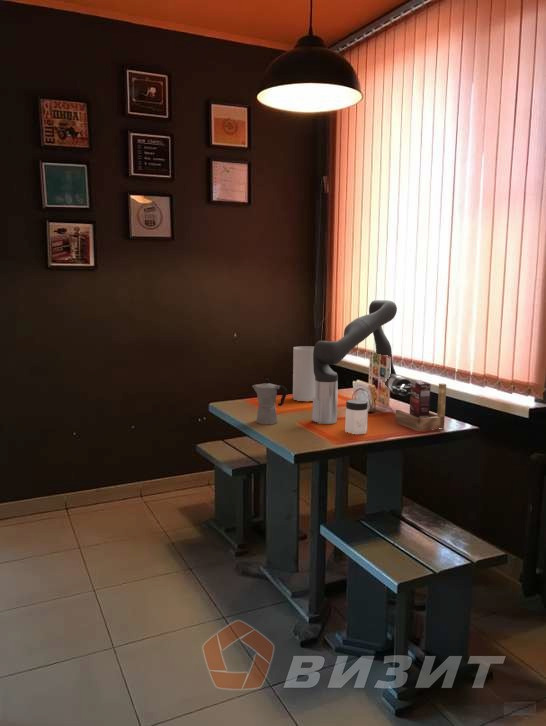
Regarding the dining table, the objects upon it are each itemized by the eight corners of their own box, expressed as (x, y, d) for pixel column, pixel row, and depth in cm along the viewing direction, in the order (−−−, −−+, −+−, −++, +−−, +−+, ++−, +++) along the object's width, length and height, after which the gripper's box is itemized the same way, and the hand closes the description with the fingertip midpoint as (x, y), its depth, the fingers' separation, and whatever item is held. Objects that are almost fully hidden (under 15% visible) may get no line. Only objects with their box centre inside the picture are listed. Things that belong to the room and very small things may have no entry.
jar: (348, 435, 228) (349, 404, 226) (341, 429, 236) (342, 399, 234) (371, 433, 230) (372, 403, 228) (363, 428, 238) (364, 398, 236)
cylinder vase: (290, 397, 293) (291, 346, 289) (315, 396, 295) (316, 346, 291) (295, 403, 281) (296, 350, 277) (321, 402, 283) (323, 349, 279)
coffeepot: (247, 422, 245) (247, 379, 242) (256, 417, 253) (257, 375, 250) (282, 427, 239) (282, 382, 236) (291, 421, 247) (291, 378, 244)
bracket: (418, 431, 233) (420, 386, 230) (395, 422, 248) (397, 379, 245) (443, 429, 238) (446, 384, 235) (419, 419, 252) (421, 377, 249)
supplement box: (408, 418, 246) (410, 380, 244) (419, 417, 247) (421, 379, 245) (418, 423, 238) (419, 384, 235) (429, 423, 239) (431, 383, 236)
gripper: (384, 377, 258) (400, 384, 243) (415, 376, 261) (432, 383, 245) (383, 394, 259) (399, 402, 244) (414, 393, 262) (431, 401, 247)
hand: (416, 393), depth 245 cm, fingers open, 8 cm apart
